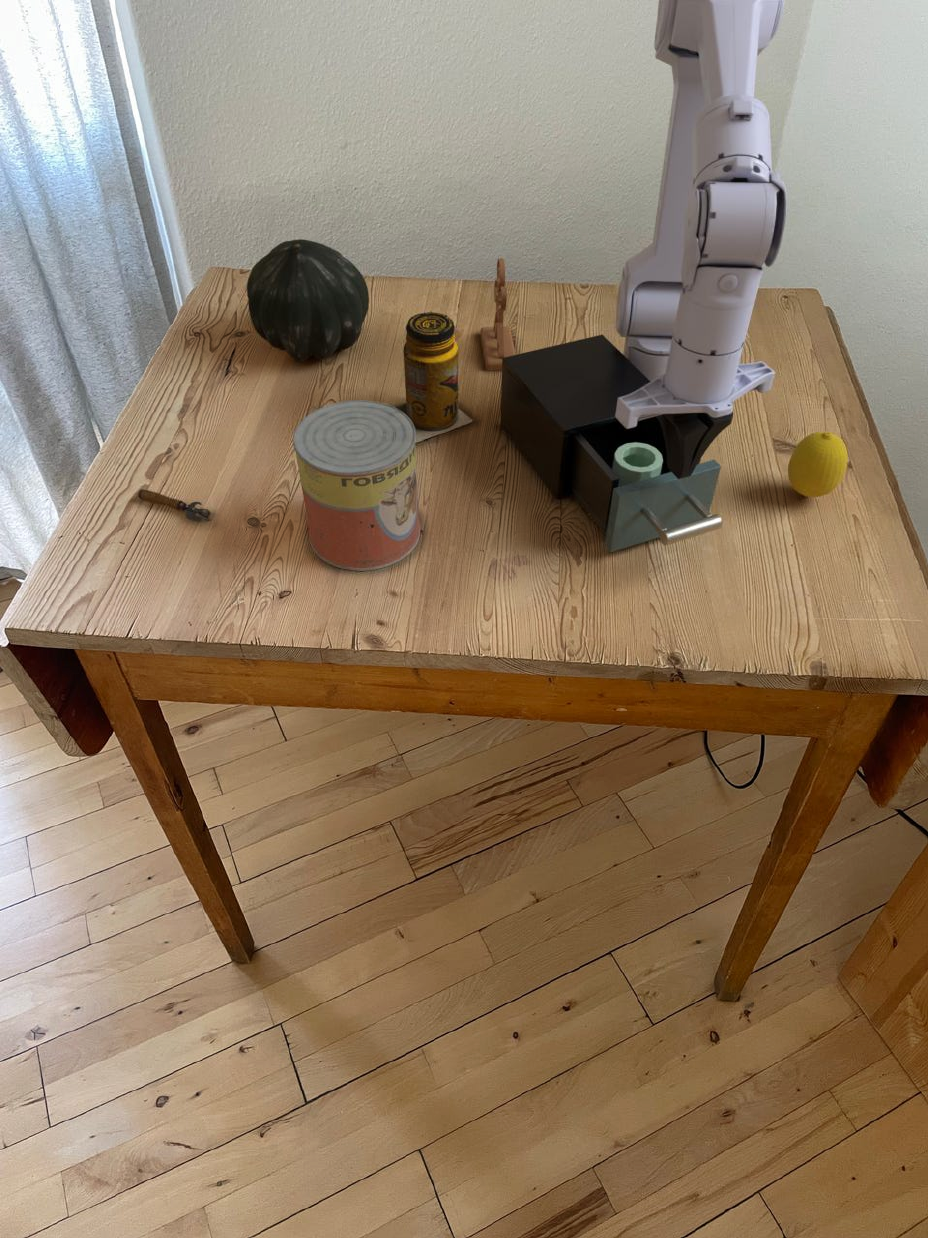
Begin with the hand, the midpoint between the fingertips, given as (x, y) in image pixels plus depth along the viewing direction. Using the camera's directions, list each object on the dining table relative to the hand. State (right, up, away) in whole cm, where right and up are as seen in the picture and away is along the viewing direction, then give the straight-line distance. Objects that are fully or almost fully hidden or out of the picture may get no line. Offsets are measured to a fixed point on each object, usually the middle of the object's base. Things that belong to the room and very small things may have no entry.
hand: (679, 471), depth 83 cm
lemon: (+17, -1, +13) cm, 21 cm away
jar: (-2, -1, +10) cm, 10 cm away
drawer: (-2, -3, +10) cm, 10 cm away
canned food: (-30, -5, +9) cm, 32 cm away
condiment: (-24, +10, +22) cm, 34 cm away
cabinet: (-7, +6, +18) cm, 21 cm away
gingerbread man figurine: (-15, +20, +32) cm, 41 cm away
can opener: (-50, -2, +11) cm, 51 cm away
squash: (-39, +22, +34) cm, 56 cm away
